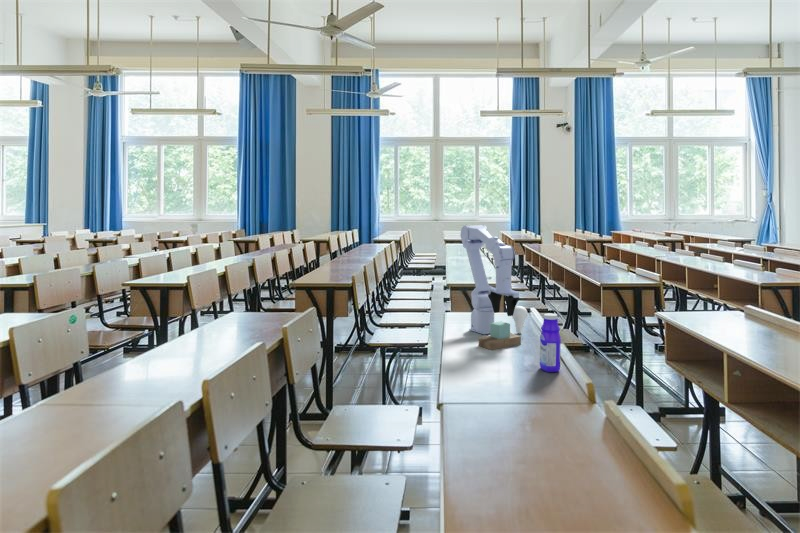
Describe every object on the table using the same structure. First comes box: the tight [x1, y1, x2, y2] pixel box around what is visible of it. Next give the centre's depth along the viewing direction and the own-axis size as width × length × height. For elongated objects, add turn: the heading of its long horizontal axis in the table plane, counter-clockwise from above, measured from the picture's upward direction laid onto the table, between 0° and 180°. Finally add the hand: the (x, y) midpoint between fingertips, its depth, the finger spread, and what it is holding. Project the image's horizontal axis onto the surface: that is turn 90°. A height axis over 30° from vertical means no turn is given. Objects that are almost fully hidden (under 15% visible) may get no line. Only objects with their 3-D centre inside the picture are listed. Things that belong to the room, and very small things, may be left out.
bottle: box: [539, 312, 562, 373], centre depth 170 cm, size 7×6×17 cm
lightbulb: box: [511, 305, 529, 334], centre depth 217 cm, size 6×6×11 cm
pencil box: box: [478, 332, 522, 351], centre depth 201 cm, size 7×14×3 cm, turn 121°
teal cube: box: [489, 320, 511, 339], centre depth 200 cm, size 5×5×5 cm
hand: (503, 314), depth 207 cm, fingers open, 7 cm apart
